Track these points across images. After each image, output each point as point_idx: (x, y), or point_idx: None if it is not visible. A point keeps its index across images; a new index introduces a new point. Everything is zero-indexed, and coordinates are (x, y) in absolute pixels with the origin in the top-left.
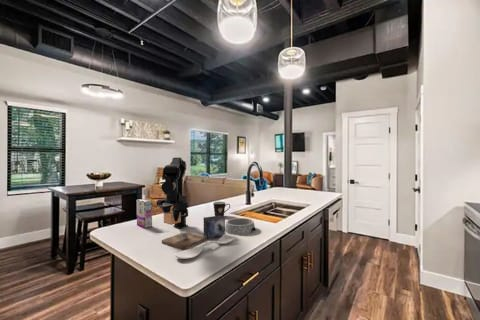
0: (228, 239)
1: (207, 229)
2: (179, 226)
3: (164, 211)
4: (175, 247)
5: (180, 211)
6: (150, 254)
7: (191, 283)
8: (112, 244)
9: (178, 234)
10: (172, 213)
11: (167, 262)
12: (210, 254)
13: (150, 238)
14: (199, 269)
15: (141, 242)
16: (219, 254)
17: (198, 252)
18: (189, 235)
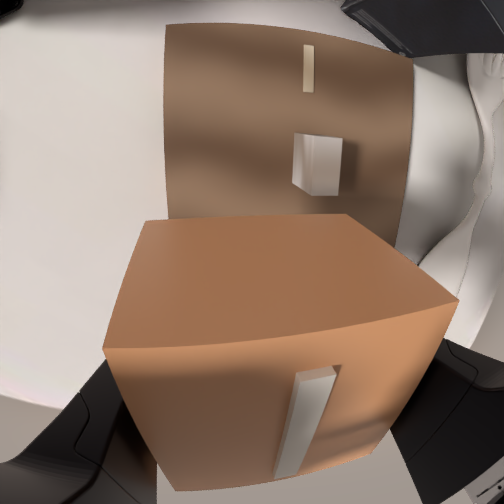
0: (491, 60)
1: (455, 52)
2: (4, 2)
3: (154, 501)
4: None
5: (501, 367)
6: None
7: (470, 344)
8: (36, 399)
9: (172, 117)
10: (345, 437)
11: None
12: (481, 214)
13: (40, 275)
14: (475, 304)
15: (76, 337)
16: (498, 196)
17: (465, 258)
18: (286, 79)
